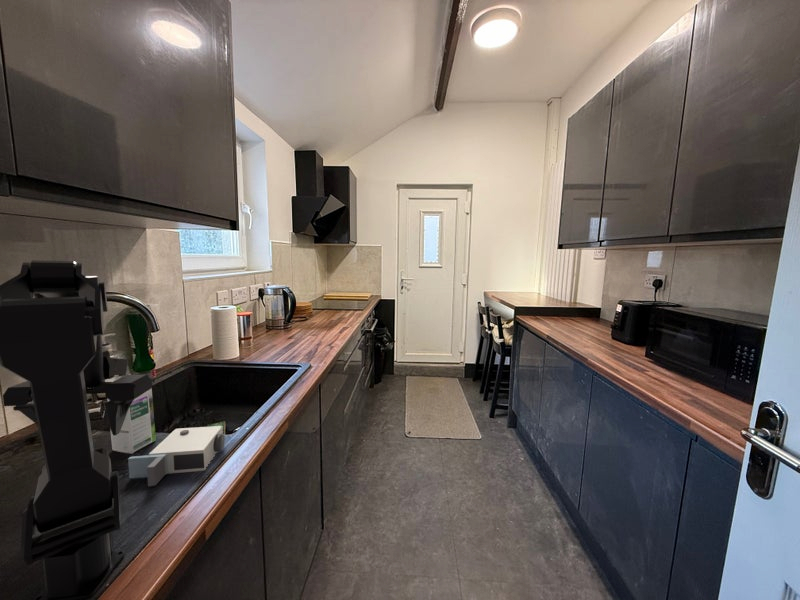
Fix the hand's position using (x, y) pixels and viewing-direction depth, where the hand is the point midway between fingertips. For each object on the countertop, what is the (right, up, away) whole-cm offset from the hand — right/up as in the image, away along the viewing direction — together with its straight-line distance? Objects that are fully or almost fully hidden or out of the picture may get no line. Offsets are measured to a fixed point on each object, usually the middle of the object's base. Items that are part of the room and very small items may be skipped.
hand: (86, 436), depth 55 cm
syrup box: (-7, -10, +18) cm, 22 cm away
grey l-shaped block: (+5, -11, +6) cm, 14 cm away
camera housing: (+9, -11, +14) cm, 20 cm away
